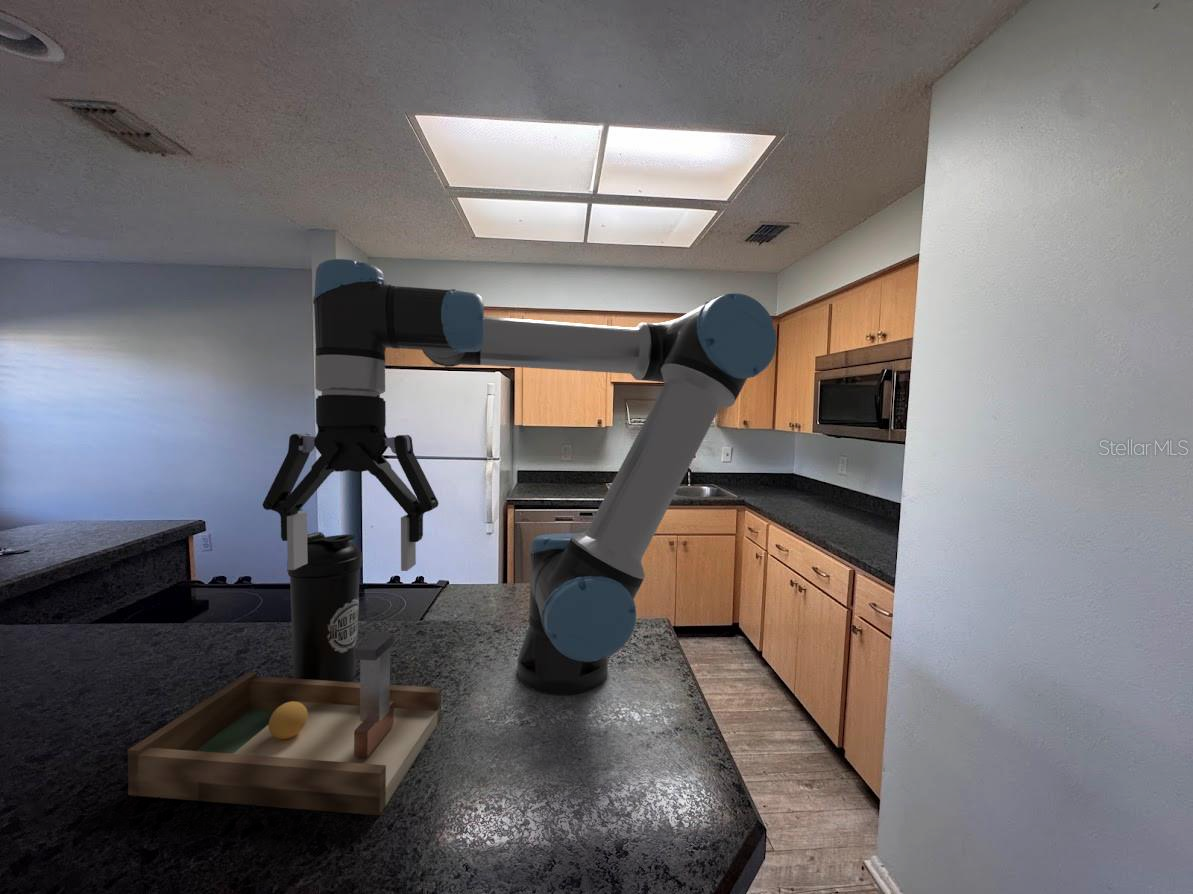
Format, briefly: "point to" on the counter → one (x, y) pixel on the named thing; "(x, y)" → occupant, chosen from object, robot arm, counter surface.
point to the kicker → (374, 693)
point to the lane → (283, 748)
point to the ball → (288, 720)
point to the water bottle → (326, 609)
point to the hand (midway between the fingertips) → (353, 567)
